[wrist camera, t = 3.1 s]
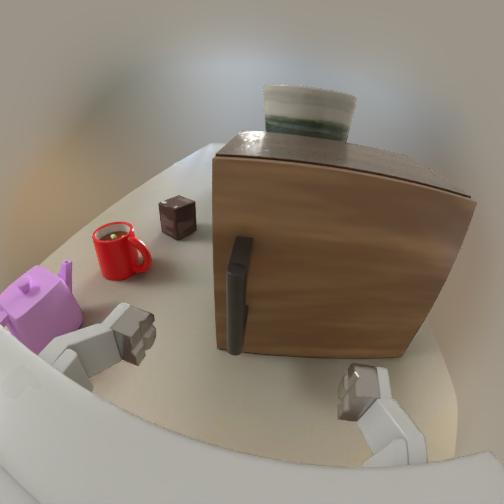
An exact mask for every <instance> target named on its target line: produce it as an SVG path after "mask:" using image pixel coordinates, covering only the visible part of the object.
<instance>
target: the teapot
mask: <svg viewBox="0 0 504 504" xmlns="http://www.w3.org/2000/svg"><path fill="white" fill-rule="evenodd" d="M0 311H1V313H0V324H1V325H2V326H3V327H4V326H6V325H7V327H8V329H9V331H10V332H11V334H12V335H13V336H14V337H15V338H16V339H18V340H19V341H20V342H21V343H22V344H24V345H25V346H26V347H27V348H28V349H30V350H31V351H32V352H33V353H35V354H36V355H37V356H38V355H39V353H40V352H41V351H42V350H43V349H44V348H45V347H46V346H47V345H48V344H49V343H50V342H51V341H52V340H53V339H54V338H55V337H58V336H61V335H64V334H67V333H70V332H73V331H76V330H77V329H78V328H79V327H80V325H81V324H82V322H83V317H82V312H81V309H80V307H79V305H78V303H77V301H76V300H75V298H74V296H73V294H72V261H70V260H67V261H65V262H63V263H62V266H61V269H60V272H59V276H57V275H56V274H54V273H52V272H50V271H48V270H47V269H45V268H43V267H41V266H38V265H37V266H35V267H33V268H31V269H30V270H29V271H27V272H26V273H25V274H23V275H22V276H21V277H19V278H18V279H17V280H16V281H14V282H13V283H12V284H11V285H10V286H9V287H8V288H7V289H6V290H5V291H3V292H2V294H1V295H0Z"/></svg>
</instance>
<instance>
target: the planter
mask: <svg viewBox="0 0 504 504" xmlns="http://www.w3.org/2000/svg"><path fill="white" fill-rule="evenodd" d="M356 100H357V98H356V97H355V96H352V95H349V94H346V93H342V92H337V91H333V90H327V89H322V88H315V87H308V86H299V85H286V84H266V85H264V112H265V130H266V132H271V133H282V134H292V135H300V136H308V137H316V138H322V139H329V140H335V141H341V142H346V141H347V138H348V134H349V130H350V126H351V122H352V118H353V114H354V109H355V105H356Z"/></svg>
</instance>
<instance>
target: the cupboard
mask: <svg viewBox="0 0 504 504" xmlns="http://www.w3.org/2000/svg"><path fill="white" fill-rule="evenodd" d="M216 156H221V157H239V158H254V159H266V160H277V161H287V162H296V163H304V164H312V165H320V166H327V167H334V168H340V169H346V170H352V171H358V172H364V173H369V174H374V175H380V176H385V177H389V178H394V179H399V180H403V181H408V182H412V183H416V184H420V185H424V186H428V187H432V188H436V189H440V190H443V191H447V192H451V193H454V194H458V195H461V196H464V197H468V198H471V196H470V195H468V194H467V193H465V192H464V191H463V190H461V189H460V188H458V187H457V186H455V185H454V184H453V183H451V182H449V181H448V180H446V179H445V178H443V177H442V176H440V175H439V174H437V173H435V172H434V171H432V170H431V169H429V168H427V167H426V166H424V165H422V164H421V163H419V162H417V161H415V160H414V159H412V158H410V157H408V156H406V155H402V154H398V153H394V152H390V151H386V150H381V149H377V148H372V147H368V146H363V145H358V144H352V143H347V142H341V141H335V140H329V139H322V138H316V137H308V136H300V135H292V134H282V133H271V132H259V131H243V130H242V131H241V132H240V133H239V134H238V135H237V136H235V137H234V138H233V139H232V140H231V141H230V142H229V143H227V144H226V145H225V146H224V147H223V148H222V149H221V150H220V151H218V152H217V153H216Z"/></svg>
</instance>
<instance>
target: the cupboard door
mask: <svg viewBox="0 0 504 504" xmlns="http://www.w3.org/2000/svg"><path fill="white" fill-rule="evenodd" d="M475 207H476V201H474V200H473V199H471V198H468V197H464V196H461V195H458V194H454V193H451V192H447V191H443V190H440V189H436V188H432V187H428V186H424V185H420V184H416V183H412V182H408V181H403V180H399V179H394V178H389V177H385V176H380V175H374V174H369V173H364V172H358V171H352V170H346V169H340V168H334V167H327V166H320V165H312V164H304V163H296V162H287V161H277V160H266V159H254V158H239V157H221V156H215V157H214V158H213V159H212V229H213V272H214V300H215V321H216V340H217V348H218V349H225V350H227V351H228V352H229V353H230V354H231V355H239V354H241V353H242V352H251V353H261V354H272V355H285V356H300V357H322V358H387V357H401V356H402V355H403V353H404V352H405V350H406V349H407V347H408V346H409V344H410V343H411V341H412V340H413V338H414V336H415V335H416V333H417V332H418V330H419V328H420V327H421V325H422V323H423V322H424V320H425V318H426V317H427V315H428V313H429V311H430V309H431V308H432V306H433V304H434V302H435V300H436V299H437V297H438V295H439V293H440V291H441V289H442V287H443V285H444V283H445V281H446V279H447V277H448V275H449V273H450V270H451V268H452V266H453V264H454V261H455V260H456V257H457V255H458V253H459V250H460V248H461V245H462V243H463V240H464V237H465V235H466V232H467V230H468V226H469V224H470V222H471V219H472V216H473V213H474V210H475Z"/></svg>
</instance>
